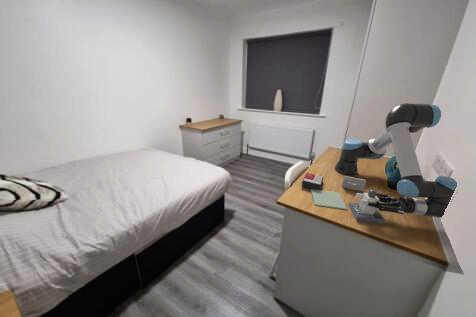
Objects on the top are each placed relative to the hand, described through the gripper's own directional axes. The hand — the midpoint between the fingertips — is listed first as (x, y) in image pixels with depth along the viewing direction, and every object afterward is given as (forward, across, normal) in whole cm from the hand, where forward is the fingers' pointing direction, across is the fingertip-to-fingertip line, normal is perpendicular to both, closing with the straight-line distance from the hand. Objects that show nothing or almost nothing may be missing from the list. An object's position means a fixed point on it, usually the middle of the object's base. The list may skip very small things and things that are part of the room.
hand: (358, 198), depth 97 cm
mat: (+11, +10, -8) cm, 17 cm away
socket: (-5, 0, -8) cm, 10 cm away
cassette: (-7, +26, -9) cm, 28 cm away
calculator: (+17, +26, -8) cm, 32 cm away
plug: (-5, 0, -8) cm, 10 cm away
